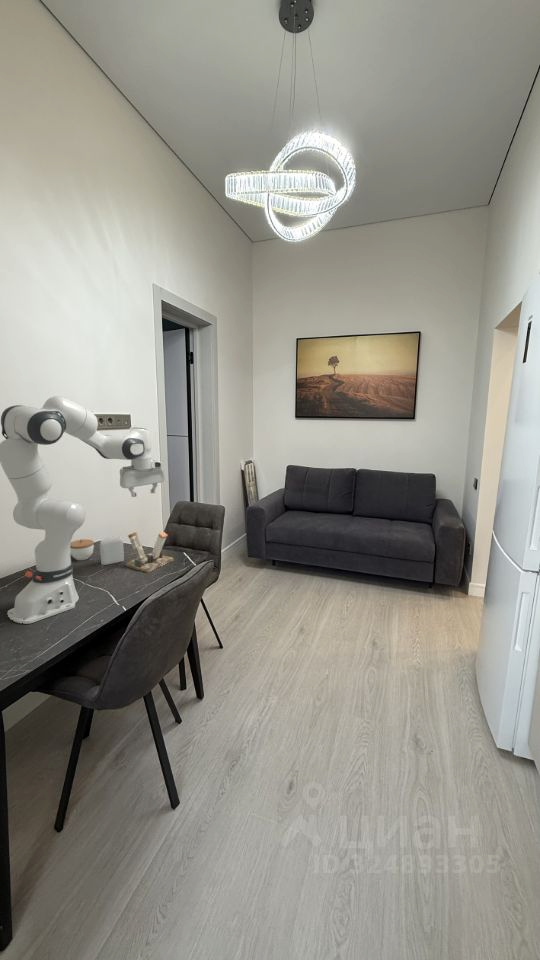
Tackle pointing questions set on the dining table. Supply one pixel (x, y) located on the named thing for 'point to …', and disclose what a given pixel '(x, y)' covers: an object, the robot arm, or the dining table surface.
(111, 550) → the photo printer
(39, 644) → the dining table surface
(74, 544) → the lidded jar
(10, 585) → the dining table surface
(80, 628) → the dining table surface
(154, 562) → the console
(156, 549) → the lever
